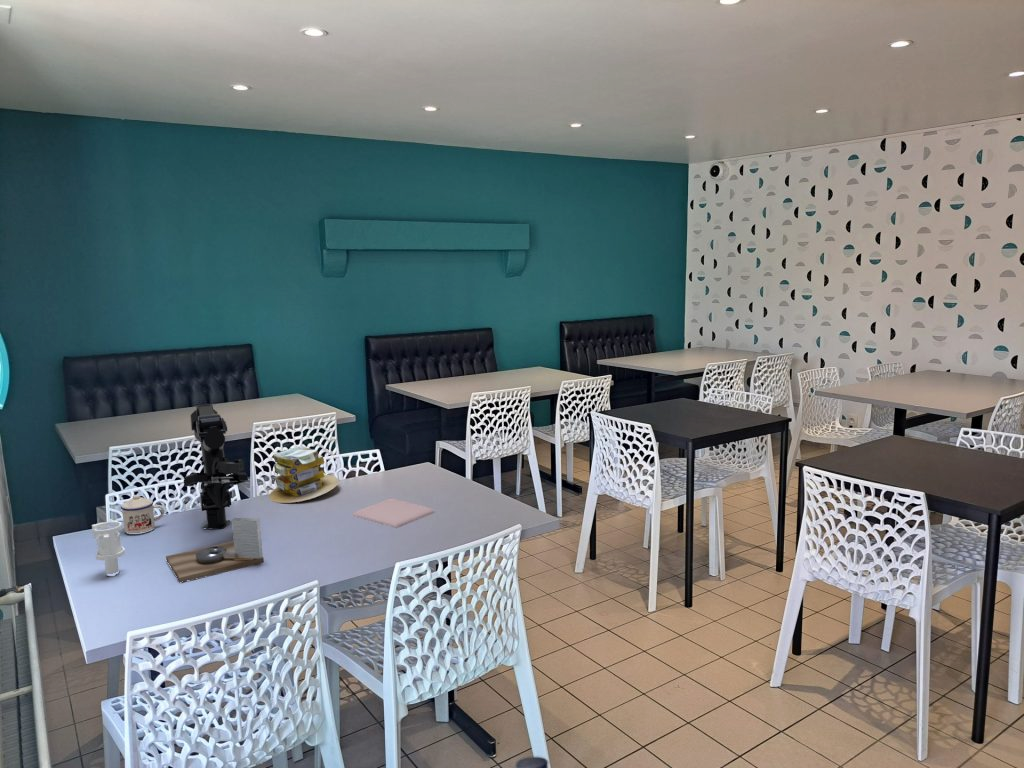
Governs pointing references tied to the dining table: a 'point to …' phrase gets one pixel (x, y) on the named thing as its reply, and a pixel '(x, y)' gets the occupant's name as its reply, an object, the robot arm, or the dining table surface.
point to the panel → (393, 512)
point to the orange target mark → (243, 558)
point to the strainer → (108, 544)
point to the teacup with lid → (139, 514)
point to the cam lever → (237, 543)
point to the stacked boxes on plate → (300, 476)
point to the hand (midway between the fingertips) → (220, 507)
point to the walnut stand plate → (205, 564)
